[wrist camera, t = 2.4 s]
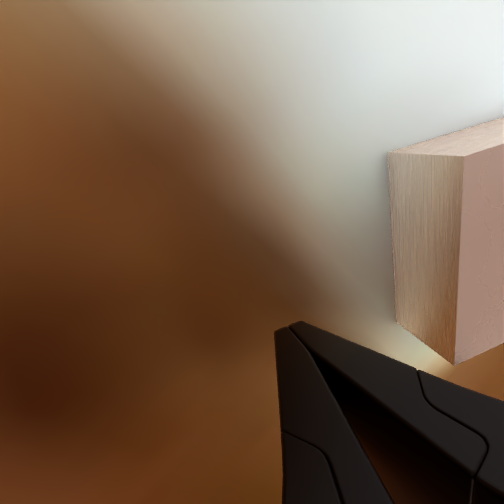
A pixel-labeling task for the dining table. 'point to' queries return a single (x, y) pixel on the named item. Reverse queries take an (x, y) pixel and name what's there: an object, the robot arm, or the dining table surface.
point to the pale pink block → (450, 240)
